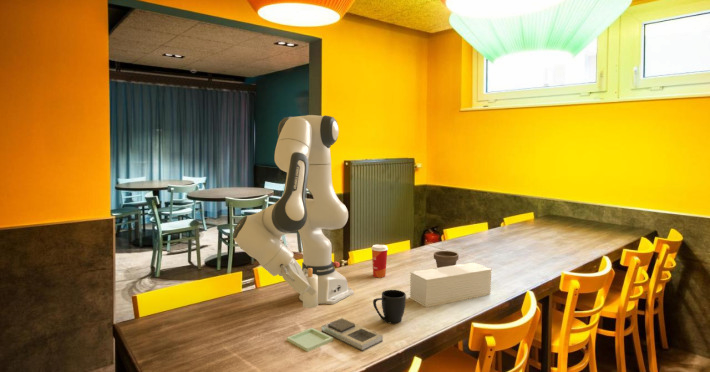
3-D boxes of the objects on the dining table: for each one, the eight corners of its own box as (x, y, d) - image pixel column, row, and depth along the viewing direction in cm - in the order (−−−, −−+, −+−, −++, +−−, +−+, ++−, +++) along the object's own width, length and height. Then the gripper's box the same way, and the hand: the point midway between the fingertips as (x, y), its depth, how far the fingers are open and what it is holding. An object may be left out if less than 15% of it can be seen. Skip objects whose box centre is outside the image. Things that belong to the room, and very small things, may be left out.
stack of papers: (472, 286, 182) (473, 262, 181) (490, 294, 173) (491, 269, 171) (409, 298, 168) (410, 271, 167) (425, 307, 158) (426, 279, 157)
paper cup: (371, 272, 199) (372, 243, 198) (388, 273, 198) (388, 244, 197) (370, 278, 191) (370, 247, 190) (387, 279, 190) (387, 248, 189)
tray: (312, 331, 137) (312, 327, 137) (332, 342, 130) (332, 337, 130) (286, 342, 130) (286, 337, 130) (307, 353, 123) (307, 348, 123)
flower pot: (430, 271, 203) (430, 250, 202) (453, 270, 204) (453, 250, 203) (437, 278, 192) (437, 257, 191) (461, 278, 193) (462, 256, 192)
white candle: (311, 300, 132) (311, 265, 131) (321, 305, 129) (320, 268, 128) (299, 305, 129) (299, 268, 128) (309, 309, 126) (308, 272, 124)
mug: (367, 319, 147) (367, 293, 146) (397, 314, 152) (397, 288, 151) (379, 329, 139) (379, 301, 138) (409, 322, 145) (410, 295, 144)
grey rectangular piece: (341, 325, 142) (342, 315, 142) (382, 343, 130) (382, 333, 129) (321, 333, 136) (321, 323, 136) (362, 353, 123) (362, 342, 123)
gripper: (290, 262, 115) (326, 293, 119) (283, 244, 135) (313, 271, 138) (274, 280, 115) (310, 310, 118) (269, 259, 134) (300, 286, 138)
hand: (312, 289), depth 129 cm, fingers closed on white candle, 5 cm apart
